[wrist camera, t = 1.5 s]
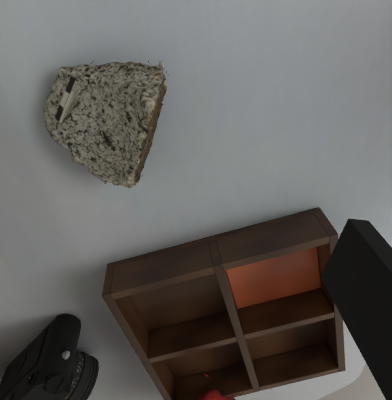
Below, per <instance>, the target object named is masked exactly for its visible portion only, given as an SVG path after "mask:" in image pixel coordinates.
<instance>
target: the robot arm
mask: <svg viewBox="0 0 392 400" xmlns="http://www.w3.org/2000/svg"><path fill="white" fill-rule="evenodd" d="M320 278H321V279H322V281H323V283H324V285H325V287H326V289H327V291H328V292H329V294H330V296H331V298H332V300H333V302H334V304H335V306H336V307H337V309H338V311H339V313H340V315H341V317H342V319H343V320H344V322H345V324H346V326H347V328H348V330H349V332H350V333H351V335H352V337H353V339H354V341H355V343H356V345H357V346H358V348H359V350H360V352H361V354H362V356H363V358H364V359H365V361H366V363H367V365H368V367H369V369H370V370H371V372H372V374H373V376H374V378H375V380H376V381H377V383H378V386H379V387H380V389H381V391H382V393H383V395H384V397H385V399H386V400H392V248H391V246H390V245H389V244H388V243H387V242H386V241H385V239H384V238H383V237H382V236H381V235H380V234H379V232H378V231H377V230H376V229H375V228H374V227H373V225H372V224H371V223H370V222H369V221H366V220H356V219H348V221H347V223H346V225H345V227H344V229H343V231H342V233H341V235H340V237H339V239H338V242H337V244H336V246H335V248H334V250H333V252H332V254H331V256H330V258H329V260H328V262H327V264H326V266H325V268H324V270H323V273H322V275H321V277H320Z"/></svg>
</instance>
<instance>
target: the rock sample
mask: <svg viewBox="0 0 392 400" xmlns="http://www.w3.org/2000/svg"><path fill="white" fill-rule="evenodd" d="M148 62H149V61H148ZM91 63H92V62H91ZM164 69H165V68H164V63H163V61H160V62H159V66H158V65H156V66H148V65H146V64H141V63H135V62H127V63H118V62H111V63H108V64H104V65H101V66H89V65H78V66H75V67H61V68H59V70H58V75H57V77H56V80H55V82H54V84H53V86H52V90H51V93H50V94H49V95H48V96H47V103H46V105H45V108H44V116H45V123H46V129H47V131H48V132H49V134H50V135H51V137H52V138H53V139H54V140H55V141H56V142H57V143H58V144H60V145H61V146H62V147H63V148H65V149H66V150H68V151H69V152H70V155H71V157H72V159H73V162H76V163H78V164H82V165H85V166H86V168H87V170H88V171H89V172H90V173H92V174H93V175H94V176H97V177H98V178H99V179H101V180H102V181H104V182H109V183H112V184H114V185H121V186H125V187H128V188H131V187H132V186H134V185H136V183H137V182H138V181H139V180H140V175H141V171H142V169H143V168H144V163H145V160H146V158H147V155H148V153H149V150H150V148H151V145H152V140H153V136H154V132H155V130H156V126H157V120H158V118H159V115H160V110H161V107H162V105H163V104H162V103H161V102H162V101H163V98H164V95H165V93H166V87H167V85H166V82H165V80H166V79H165V76H164V75H165V74H163V71H164ZM166 73H167V72H166ZM167 76H168V75H167ZM142 176H143V175H142ZM105 184H106V183H105ZM105 196H106V195H105Z"/></svg>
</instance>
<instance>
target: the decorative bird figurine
mask: <svg viewBox="0 0 392 400" xmlns="http://www.w3.org/2000/svg"><path fill="white" fill-rule="evenodd" d="M204 375H205V376H206V377H209V376H208V375H206V374H204ZM197 400H235V399H234V398H229V399H226V398H224V397H222V395H221V394H220V392H219V391H218V390H216V389H211V390H208V391H206V392H204V393H202V394H201V395H200V397H199V398H198V399H197Z"/></svg>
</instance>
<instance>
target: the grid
mask: <svg viewBox="0 0 392 400" xmlns="http://www.w3.org/2000/svg"><path fill="white" fill-rule="evenodd" d="M337 242H338V233H337V232H336V230H335V229H334V228H333V226H332V225H331V223H330V222H329V220H328V219H327V218H326V216H325V215H324V213H323V212H322V210H321V209H320V208H315V209H312V210H308V211H304V212H300V213H297V214H293V215H289V216H286V217H282V218H278V219H274V220H271V221H267V222H263V223H260V224H256V225H252V226H248V227H245V228H241V229H237V230H233V231H230V232H226V233H222V234H219V235H215V236H211V237H207V238H204V239H200V240H196V241H193V242H189V243H185V244H181V245H178V246H174V247H170V248H166V249H163V250H159V251H155V252H152V253H148V254H144V255H140V256H137V257H133V258H129V259H126V260H122V261H118V262H114V263H111V264H107V270H106V276H105V282H104V287H103V293H102V297H103V299H104V300H105V302H106V304H107V305H108V307H109V309H110V310H111V312H112V314H113V315H114V317H115V319H116V320H117V322H118V324H119V325H120V327H121V329H122V330H123V332H124V334H125V335H126V337H127V339H128V340H129V342H130V343H131V345H132V347H133V348H134V350H135V352H136V353H137V355H138V357H139V358H140V360H141V362H142V363H143V365H144V367H145V368H146V370H147V372H148V373H149V375H150V377H151V378H152V380H153V382H154V383H155V385H156V387H157V388H158V390H159V392H160V393H161V395H162V397H163V398H164V400H197V399H198V398H199V397H200V395H201V394H202V393H204V392H206V391H208V390H211V389H216V390H218V391H219V392H220V394H221V395H222V397H224V398H226V399H229V398H233V397H237V396H241V395H245V394H249V393H253V392H258V391H260V390H265V389H270V388H274V387H278V386H282V385H286V384H290V383H295V382H299V381H303V380H307V379H311V378H315V377H320V376H324V375H328V374H332V373H336V372H341V371H345V355H344V336H343V319H342V317H341V315H340V313H339V311H338V309H337V307H336V306H335V304H334V302H333V300H332V298H331V296H330V294H329V292H328V291H327V289H326V287H325V285H324V283H323V281H322V279H321V278H320V277H321V275H322V273H323V270H324V268H325V266H326V264H327V262H328V260H329V258H330V256H331V254H332V252H333V250H334V248H335V246H336V244H337ZM204 374H206V375H208V376H209V377H206V376H205V375H204Z"/></svg>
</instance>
